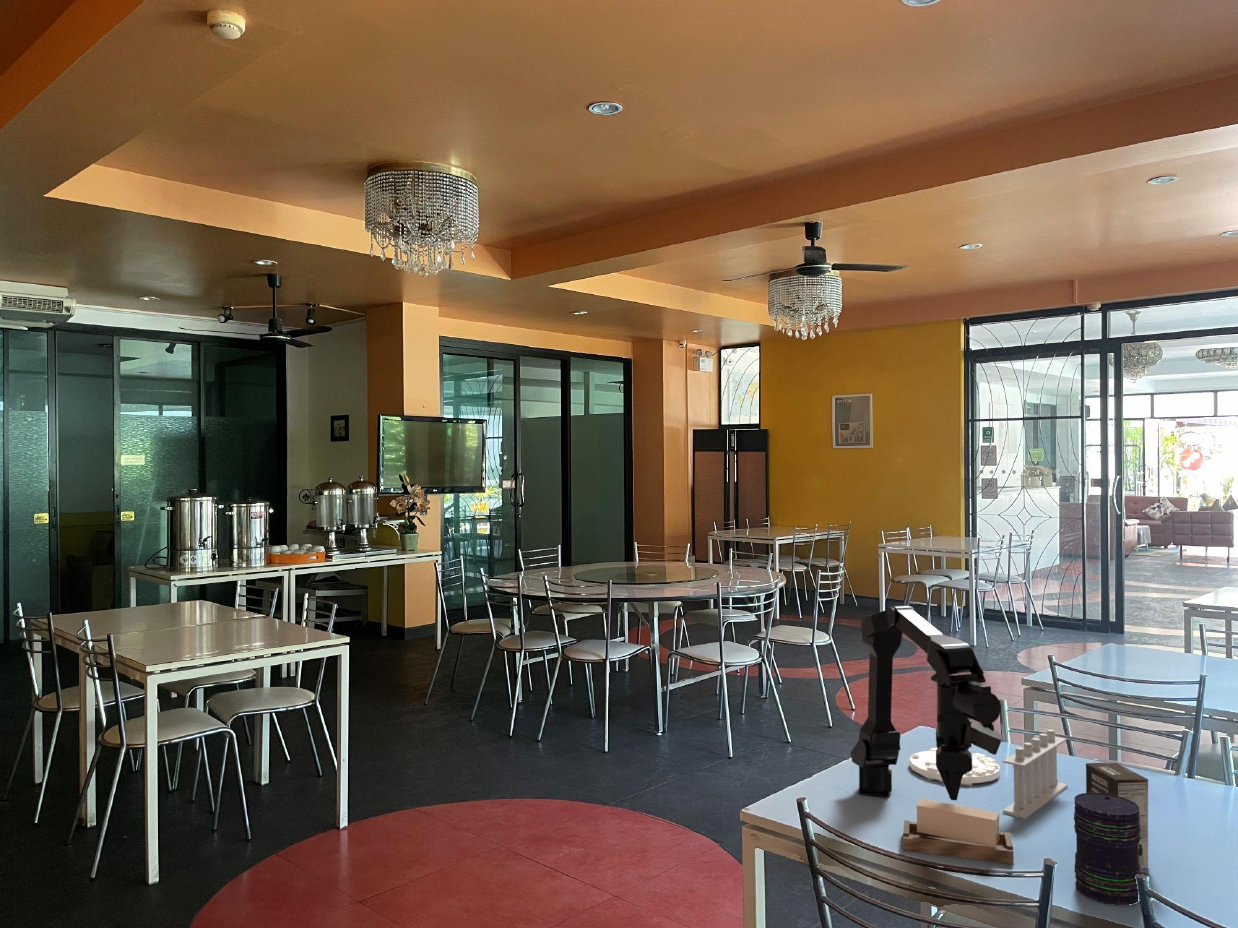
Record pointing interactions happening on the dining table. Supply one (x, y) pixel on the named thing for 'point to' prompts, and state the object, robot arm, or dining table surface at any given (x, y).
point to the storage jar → (1107, 848)
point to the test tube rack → (1035, 774)
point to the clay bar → (958, 822)
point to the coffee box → (1122, 794)
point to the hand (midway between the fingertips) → (953, 791)
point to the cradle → (957, 846)
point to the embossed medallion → (980, 773)
